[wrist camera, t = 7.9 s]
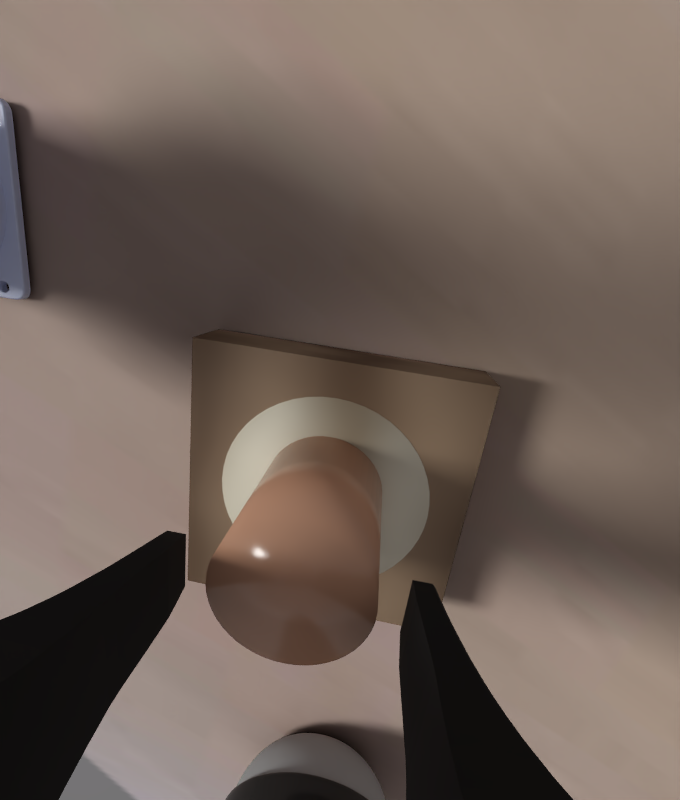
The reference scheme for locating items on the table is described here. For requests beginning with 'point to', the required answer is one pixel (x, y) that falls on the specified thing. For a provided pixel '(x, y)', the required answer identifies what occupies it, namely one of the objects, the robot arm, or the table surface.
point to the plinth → (346, 420)
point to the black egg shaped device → (308, 772)
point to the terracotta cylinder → (303, 556)
